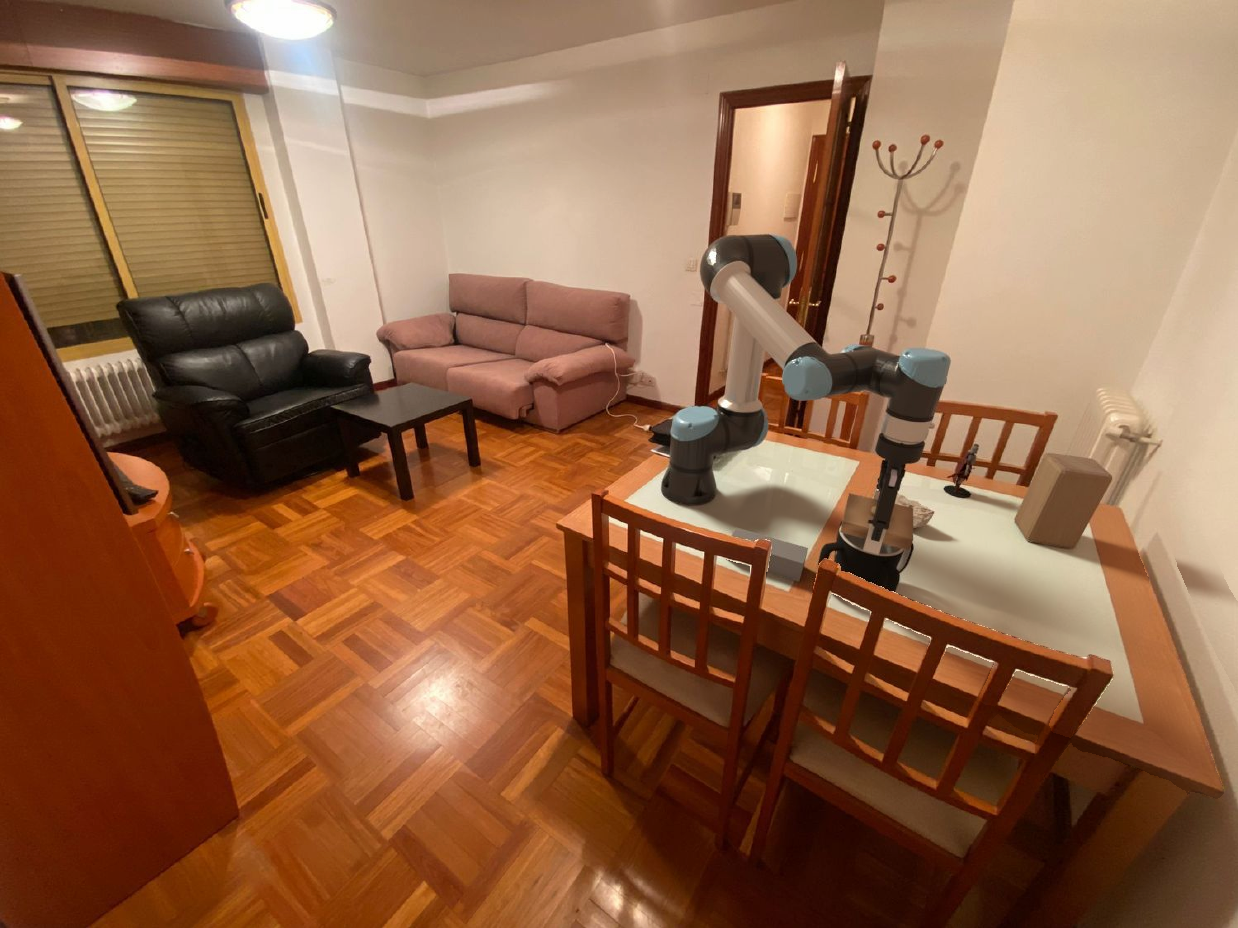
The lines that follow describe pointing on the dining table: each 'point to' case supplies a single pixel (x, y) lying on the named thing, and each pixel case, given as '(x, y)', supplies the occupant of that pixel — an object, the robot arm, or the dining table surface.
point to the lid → (864, 510)
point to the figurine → (962, 474)
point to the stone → (916, 510)
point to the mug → (868, 560)
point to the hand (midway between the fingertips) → (872, 534)
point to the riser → (780, 555)
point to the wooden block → (1062, 499)
